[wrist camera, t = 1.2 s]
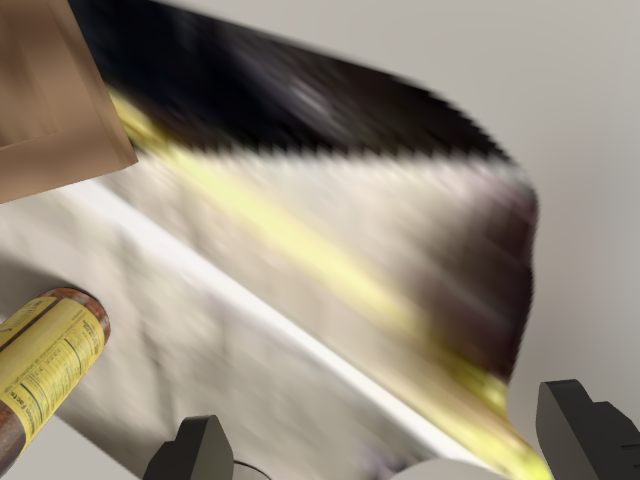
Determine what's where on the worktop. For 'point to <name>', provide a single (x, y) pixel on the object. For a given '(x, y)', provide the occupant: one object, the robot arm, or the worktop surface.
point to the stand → (52, 103)
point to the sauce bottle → (44, 362)
